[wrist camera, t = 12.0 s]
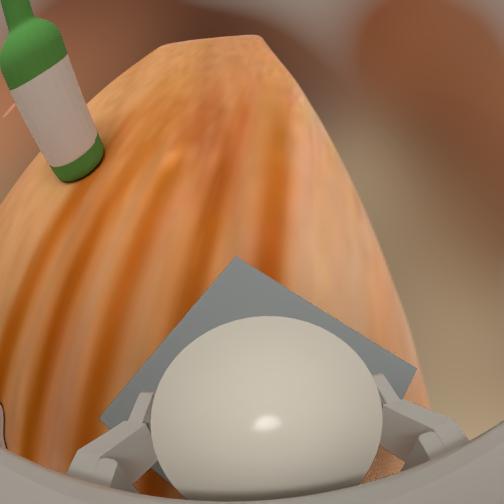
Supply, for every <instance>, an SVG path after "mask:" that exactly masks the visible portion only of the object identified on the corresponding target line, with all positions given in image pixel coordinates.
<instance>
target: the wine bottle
mask: <svg viewBox="0 0 504 504" xmlns="http://www.w3.org/2000/svg"><path fill="white" fill-rule="evenodd" d="M1 4H2V8H3V11H4V15H5V19H6V22H7V26H8V30H9V33H8V37H7V38H6V40H5V42H4V44H3V47H2V50H1V54H0V68H1V71H2V74H3V76H4V78H5V81H6V83H7V85H8V87H9V90H10V92H11V95H12V97H13V99H14V101H15V103H16V105H17V107H18V109H19V111H20V113H21V115H22V117H23V119H24V121H25V123H26V125H27V127H28V129H29V131H30V132H31V134H32V136H33V138H34V140H35V142H36V143H37V145H38V147H39V148H40V150H41V152H42V154H43V155H44V157H45V159H46V161H47V162H48V163H49V165H50V167H51V168H52V170H53V172H54V173H55V174H56V176H57V177H58V178H59V179H61V180H63V181H74V180H77V179H80V178H82V177H84V176H85V175H87V174H88V173H90V172H91V171H92V170H93V169H94V168H95V167H96V166H97V165H98V163H99V162H100V161H101V158H102V156H103V144H102V142H101V139H100V137H99V135H98V132H97V129H96V127H95V125H94V122H93V120H92V118H91V115H90V113H89V110H88V108H87V105H86V103H85V101H84V98H83V95H82V93H81V90H80V87H79V85H78V82H77V79H76V77H75V74H74V71H73V68H72V65H71V63H70V60H69V57H68V54H67V51H66V48H65V45H64V42H63V39H62V36H61V33H60V31H59V29H58V28H57V27H56V26H55V25H54V24H53V23H52V22H50V21H47V20H45V19H39V18H36V17H35V16H34V15H33V12H32V8H31V5H30V1H29V0H1Z"/></svg>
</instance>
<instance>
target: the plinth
mask: <svg viewBox="0 0 504 504" xmlns="http://www.w3.org/2000/svg"><path fill="white" fill-rule="evenodd" d="M259 316H280V317H287V318H294V319H298V320H302V321H306V322H309V323H311V324H314V325H316V326H319V327H321V328H323V329H325V330H327V331H329V332H331V333H333V334H334V335H336V336H337V337H338V338H340V339H341V340H343V341H344V342H345V343H346V344H347V345H349V346H350V347H351V348H352V349H353V350H354V351H355V352H356V353H357V354H358V356H359V357H360V358H361V359H362V360H363V362H364V363H365V365H366V366H367V368H368V369H369V371H370V373H371V374H372V375H375V374H379V373H382V374H383V375H384V376H385V378H386V379H387V381H388V382H389V384H390V385H391V386H392V388H393V389H394V391H395V392H396V394H397V395H398V397H399V399H400V400H401V399H403V397H404V395H405V393H406V391H407V389H408V387H409V385H410V383H411V381H412V378H413V376H414V374H415V372H416V370H417V368H415V367H414V366H412V365H410V364H409V363H407V362H405V361H404V360H402V359H400V358H399V357H397V356H395V355H394V354H392V353H390V352H389V351H387V350H386V349H384V348H382V347H381V346H379V345H377V344H376V343H374V342H372V341H371V340H369V339H368V338H366V337H364V336H363V335H361V334H359V333H358V332H356V331H355V330H353V329H351V328H350V327H348V326H346V325H345V324H343V323H342V322H340V321H338V320H337V319H335V318H334V317H332V316H330V315H329V314H327V313H326V312H324V311H322V310H321V309H319V308H318V307H316V306H314V305H313V304H311V303H309V302H308V301H306V300H305V299H303V298H302V297H300V296H298V295H297V294H295V293H294V292H292V291H290V290H289V289H287V288H286V287H284V286H282V285H281V284H279V283H278V282H276V281H274V280H273V279H271V278H270V277H268V276H267V275H265V274H263V273H262V272H260V271H259V270H257V269H256V268H254V267H252V266H251V265H249V264H248V263H246V262H245V261H243V260H241V259H240V258H238V257H237V256H236V257H235V258H234V259H233V260H232V261H231V263H230V264H229V265H228V266H227V267H226V268H225V270H224V271H223V272H222V273H221V274H220V275H219V277H218V278H217V279H216V280H215V281H214V282H213V284H212V285H211V286H210V287H209V288H208V289H207V291H206V292H205V293H204V294H203V295H202V296H201V298H200V299H199V300H198V301H197V302H196V303H195V305H194V306H193V307H192V308H191V309H190V310H189V312H188V313H187V314H186V315H185V316H184V317H183V319H182V320H181V321H180V322H179V323H178V325H177V326H176V327H175V328H174V329H173V330H172V332H171V333H170V334H169V335H168V336H167V337H166V339H165V340H164V341H163V342H162V343H161V345H160V346H159V347H158V348H157V349H156V351H155V352H154V353H153V354H152V355H151V356H150V358H149V359H148V360H147V361H146V362H145V364H144V365H143V366H142V367H141V368H140V370H139V371H138V372H137V373H136V374H135V375H134V377H133V378H132V379H131V380H130V381H129V383H128V384H127V385H126V386H125V387H124V389H123V390H122V391H121V392H120V393H119V395H118V396H117V397H116V398H115V399H114V401H113V402H112V403H111V404H110V405H109V407H108V408H107V409H106V410H105V411H104V413H103V414H102V415H101V416H100V417H99V418H100V420H101V421H102V422H103V423H104V424H105V425H106V426H107V427H108V428H109V429H110V430H111V429H112V428H114V427H115V426H117V425H118V424H120V423H122V422H123V421H128V419H129V417H130V415H131V412H132V410H133V407H134V405H135V403H136V400H137V398H138V396H139V394H140V393H141V392H142V391H144V392H154V393H155V392H156V390H157V388H158V385H159V382H160V381H161V379H162V377H163V375H164V373H165V371H166V370H167V368H168V367H169V366H170V364H171V363H172V361H173V360H174V359H175V358H176V357H177V355H178V354H179V353H180V352H181V351H182V350H183V349H184V348H185V347H187V346H188V345H189V344H190V343H191V342H193V341H194V340H195V339H197V338H198V337H200V336H201V335H203V334H205V333H206V332H208V331H210V330H212V329H214V328H216V327H218V326H220V325H223V324H226V323H229V322H232V321H235V320H240V319H244V318H249V317H259ZM150 468H151V469H153V470H154V471H155V472H156V473H157V474H159V475H160V476H161V477H162V478H164V479H165V480H166V481H167V482H169V483H170V484H171V485H173V484H172V483H171V482H170V480H169V479H168V478H167V476H166V475H165V473H164V471H163V469H162V467H161V466H160V464H159V461H157V462H156V463H155V464H153V465H152V466H151V467H150Z"/></svg>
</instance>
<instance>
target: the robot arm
mask: <svg viewBox="0 0 504 504" xmlns="http://www.w3.org/2000/svg"><path fill="white" fill-rule="evenodd" d="M372 377H373V379H374V381H375V383H376V386H377V389H378V392H379V396H380V399H381V406H382V433H381V439H380V443H379V445H380V446H382V447H383V448H385V449H386V450H388V451H389V452H391V453H392V454H393V455H395V456H396V457H398V458H399V459H401V460H402V461H404V462H405V464H404V466H403V467H402V469H401V471H400V472H399V473H396V474H393V475H390V476H387V477H384V478H381V479H377V480H374V481H371V482H367V483H364V484H360V485H356V486H352V487H348V488H344V489H339V490H335V491H330V492H325V493H319V494H313V495H307V496H300V497H293V498H284V499H274V500H261V501H237V502H219V501H195V500H182V499H172V498H164V497H157V496H150V495H144V494H140V493H139V492H138V491H137V489H136V488H135V487H134V485H133V484H134V483H135V482H136V481H137V480H138V479H139V478H140V477H141V476H142V475H143V474H144V473H145V472H146V471H147V470H148V469H149V468H150V467H151V466H152V465H153V464H155V463H156V462H157V461H158V459H157V456H156V453H155V450H154V446H153V441H152V437H151V410H152V405H153V400H154V396H155V393H156V392H155V393H154V392H144V391H142V392H141V393H140V394H139V396H138V398H137V400H136V403H135V405H134V407H133V410H132V412H131V415H130V417H129V419H128V421H123V422H122V423H120V424H118V425H117V426H115V427H114V428H112V429H111V430H109V431H108V432H106V433H105V434H103V435H101V436H100V437H98V438H97V439H95V440H93V441H92V442H90V443H89V444H87V445H85V446H84V447H82V448H80V449H79V450H78V451H77V453H76V455H75V457H74V459H73V461H72V463H71V465H70V467H69V469H68V471H67V473H66V474H63V473H60V472H58V471H55V470H52V469H50V468H47V467H45V466H42V465H40V464H38V463H35V462H33V461H31V460H29V459H26V458H24V457H22V456H20V455H18V454H16V453H14V452H12V451H10V450H8V449H6V447H5V443H4V438H3V422H4V418H3V409H2V406H1V404H0V504H504V421H502V422H500V423H499V424H497V425H496V426H494V427H493V428H491V429H489V430H488V431H486V432H484V433H483V434H481V435H479V436H478V437H476V438H474V439H472V440H470V441H469V440H468V438H467V437H466V436H465V434H464V433H463V431H462V430H461V429H460V427H459V426H458V425H457V423H456V422H455V421H454V420H453V419H450V418H448V417H445V416H443V415H440V414H438V413H436V412H433V411H431V410H428V409H426V408H424V407H421V406H419V405H417V404H414V403H412V402H410V401H408V400H405V399H401V400H400V399H399V397H398V395H397V394H396V392H395V391H394V389H393V388H392V386H391V385H390V384H389V382H388V381H387V379H386V378H385V376H384V375H383V374H382V373H379V374H375V375H372Z"/></svg>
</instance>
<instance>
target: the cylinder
mask: <svg viewBox="0 0 504 504" xmlns="http://www.w3.org/2000/svg"><path fill="white" fill-rule="evenodd" d="M381 433H382V406H381V399H380V396H379V392H378V389H377V386H376V383H375V381H374V379H373V377H372V374H371V373H370V371H369V369H368V368H367V366H366V365H365V363H364V362H363V360H362V359H361V358H360V357H359V356H358V354H357V353H356V352H355V351H354V350H353V349H352V348H351V347H350V346H349V345H347V344H346V343H345V342H344V341H343V340H341V339H340V338H338V337H337V336H336V335H334V334H333V333H331V332H329V331H327V330H325V329H323V328H321V327H319V326H316V325H314V324H311V323H309V322H306V321H302V320H298V319H294V318H287V317H280V316H259V317H249V318H244V319H240V320H235V321H232V322H229V323H226V324H223V325H220V326H218V327H216V328H214V329H212V330H210V331H208V332H206V333H205V334H203V335H201V336H200V337H198V338H197V339H195V340H194V341H193V342H191V343H190V344H189V345H188V346H187V347H185V348H184V349H183V350H182V351H181V352H180V353H179V354H178V355H177V357H176V358H175V359H174V360H173V361H172V363H171V364H170V366H169V367H168V368H167V370H166V371H165V373H164V375H163V377H162V379H161V381H160V382H159V385H158V388H157V390H156V393H155V396H154V400H153V405H152V410H151V437H152V441H153V446H154V450H155V453H156V456H157V459H158V461H159V464H160V466H161V467H162V469H163V471H164V473H165V475H166V476H167V478H168V479H169V480H170V482H171V483H172V484H173V486H174V487H175V488H176V489H177V490H178V491H179V492H180V493H181V494H182V495H183V496H184V497H185V498H186V499H187V500H195V501H219V502H237V501H261V500H274V499H284V498H293V497H300V496H307V495H313V494H319V493H325V492H330V491H335V490H339V489H344V488H348V487H352V486H356V485H358V484H359V483H360V482H361V481H362V479H363V478H364V476H365V475H366V473H367V472H368V470H369V468H370V467H371V465H372V462H373V460H374V458H375V456H376V453H377V450H378V447H379V443H380V439H381Z"/></svg>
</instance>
